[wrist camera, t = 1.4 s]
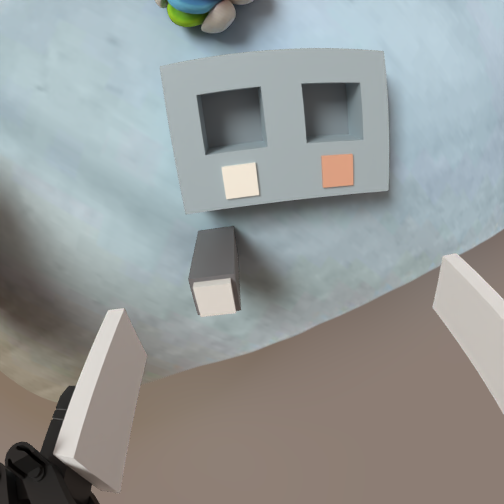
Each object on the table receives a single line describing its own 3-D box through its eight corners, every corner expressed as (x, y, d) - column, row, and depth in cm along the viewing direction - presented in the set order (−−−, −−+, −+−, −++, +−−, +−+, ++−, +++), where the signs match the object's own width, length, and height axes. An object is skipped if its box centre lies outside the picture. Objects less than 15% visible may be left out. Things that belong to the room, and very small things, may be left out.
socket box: (191, 197, 34) (185, 215, 29) (170, 70, 27) (159, 66, 22) (369, 177, 34) (389, 191, 29) (363, 55, 27) (385, 50, 22)
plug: (204, 261, 37) (197, 320, 28) (198, 230, 36) (187, 284, 26) (238, 256, 37) (241, 315, 28) (233, 225, 36) (234, 278, 26)
